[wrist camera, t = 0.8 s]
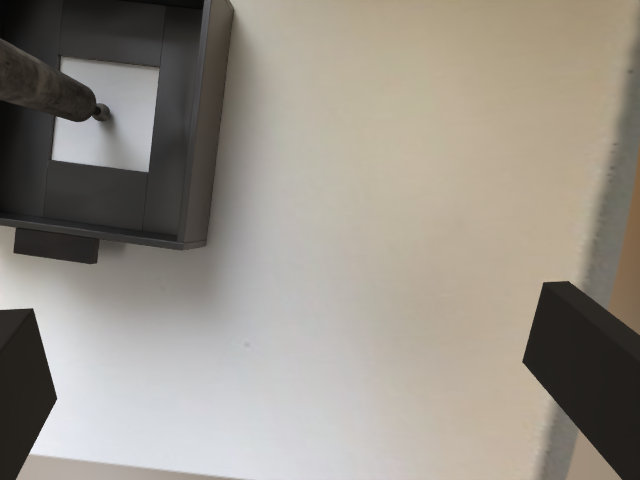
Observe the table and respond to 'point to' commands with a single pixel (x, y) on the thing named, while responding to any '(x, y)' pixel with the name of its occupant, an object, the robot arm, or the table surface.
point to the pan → (168, 132)
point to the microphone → (45, 87)
